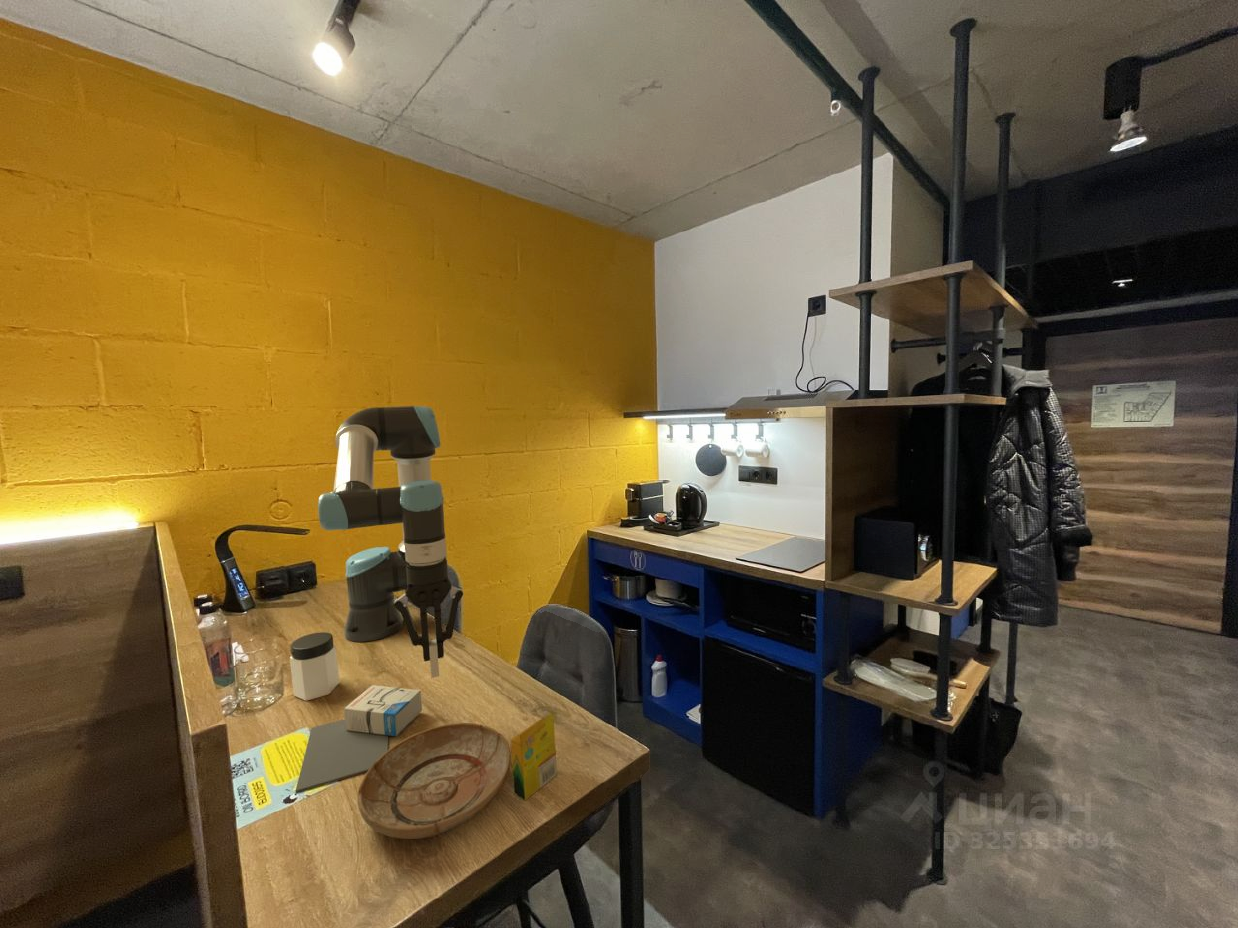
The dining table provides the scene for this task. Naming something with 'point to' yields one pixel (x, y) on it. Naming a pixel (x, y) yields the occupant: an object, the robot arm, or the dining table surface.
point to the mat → (338, 754)
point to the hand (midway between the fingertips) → (435, 673)
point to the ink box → (383, 710)
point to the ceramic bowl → (434, 780)
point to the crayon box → (534, 757)
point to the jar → (314, 666)
